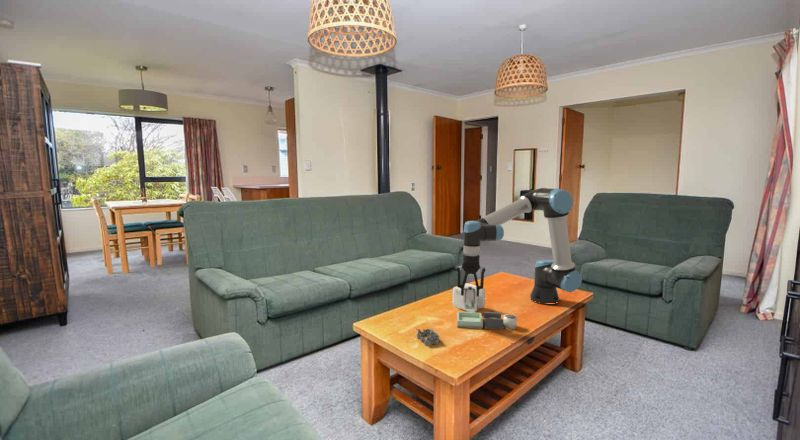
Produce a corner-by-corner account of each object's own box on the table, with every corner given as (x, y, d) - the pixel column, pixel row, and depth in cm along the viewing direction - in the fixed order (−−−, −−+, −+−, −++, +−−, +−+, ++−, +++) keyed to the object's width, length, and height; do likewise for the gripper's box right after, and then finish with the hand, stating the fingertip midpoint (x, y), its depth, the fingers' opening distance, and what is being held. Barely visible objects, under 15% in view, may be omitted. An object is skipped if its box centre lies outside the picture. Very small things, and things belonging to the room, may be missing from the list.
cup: (515, 324, 174) (515, 314, 173) (517, 330, 168) (518, 319, 167) (502, 323, 175) (502, 313, 174) (504, 329, 169) (504, 318, 168)
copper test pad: (496, 319, 175) (496, 317, 174) (497, 322, 171) (497, 320, 171) (488, 319, 175) (489, 317, 175) (489, 322, 172) (489, 320, 171)
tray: (480, 318, 181) (480, 312, 180) (482, 328, 169) (482, 322, 169) (456, 317, 182) (457, 311, 182) (457, 326, 171) (457, 320, 171)
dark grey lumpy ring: (414, 336, 161) (415, 327, 161) (430, 334, 164) (430, 325, 163) (425, 347, 151) (425, 338, 151) (441, 344, 154) (441, 335, 154)
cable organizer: (486, 310, 192) (487, 288, 191) (474, 315, 185) (474, 293, 184) (463, 302, 203) (464, 282, 202) (451, 307, 196) (451, 286, 195)
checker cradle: (500, 321, 177) (500, 311, 177) (503, 329, 168) (503, 319, 168) (483, 320, 178) (483, 310, 178) (485, 328, 169) (485, 318, 169)
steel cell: (474, 306, 177) (474, 286, 175) (474, 309, 172) (475, 288, 171) (464, 305, 177) (465, 285, 176) (464, 308, 173) (465, 288, 172)
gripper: (489, 253, 174) (487, 300, 177) (452, 251, 176) (451, 298, 179) (491, 256, 167) (489, 306, 170) (452, 255, 169) (450, 303, 172)
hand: (469, 302), depth 174 cm, fingers closed on steel cell, 4 cm apart
